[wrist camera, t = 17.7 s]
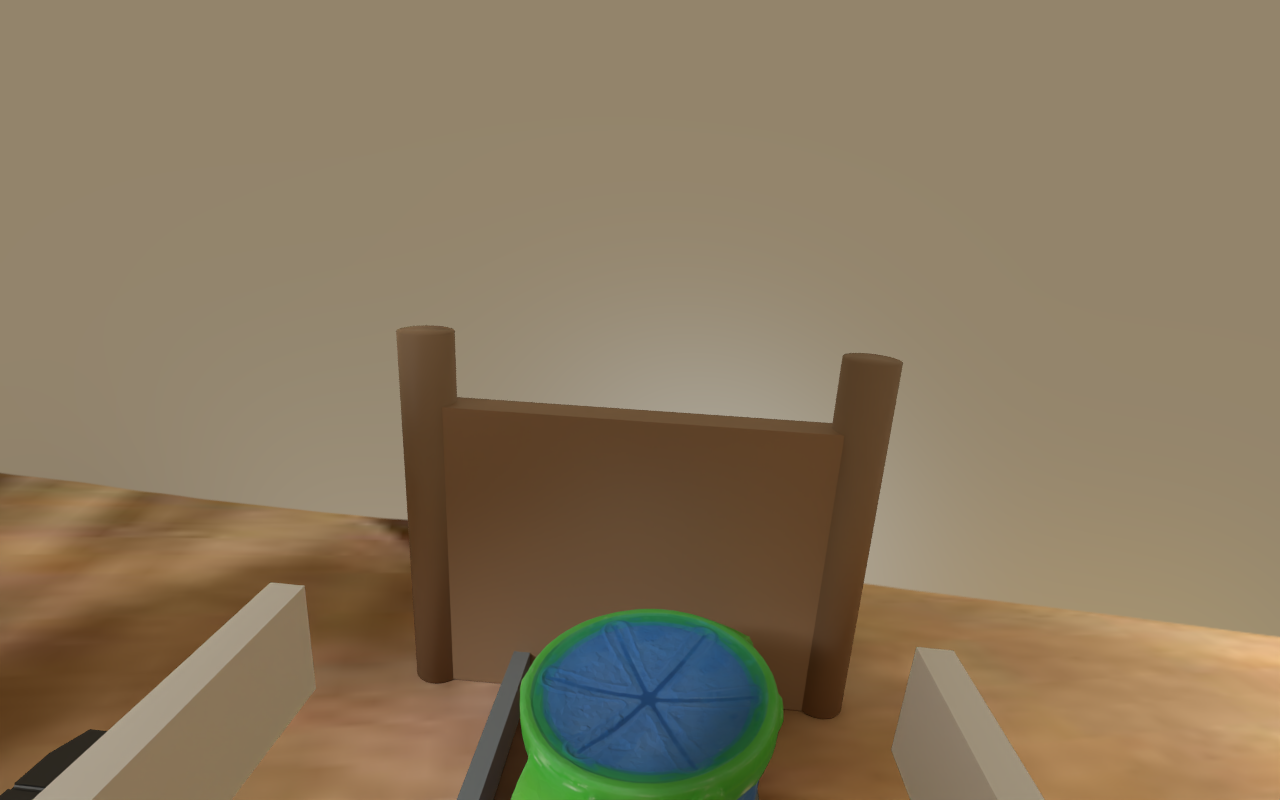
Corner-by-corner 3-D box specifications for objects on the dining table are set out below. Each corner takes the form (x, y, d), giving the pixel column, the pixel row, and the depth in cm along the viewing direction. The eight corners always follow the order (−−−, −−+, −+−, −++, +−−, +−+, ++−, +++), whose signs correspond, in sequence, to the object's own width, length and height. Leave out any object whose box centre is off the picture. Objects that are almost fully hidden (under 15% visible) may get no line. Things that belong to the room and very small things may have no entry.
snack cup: (679, 712, 37) (679, 561, 34) (843, 827, 30) (859, 647, 27) (437, 912, 27) (407, 718, 24) (599, 1165, 19) (585, 929, 17)
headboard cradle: (202, 1035, 22) (70, 460, 16) (428, 648, 42) (410, 324, 35) (979, 1128, 21) (1178, 545, 14) (834, 685, 40) (892, 355, 34)
